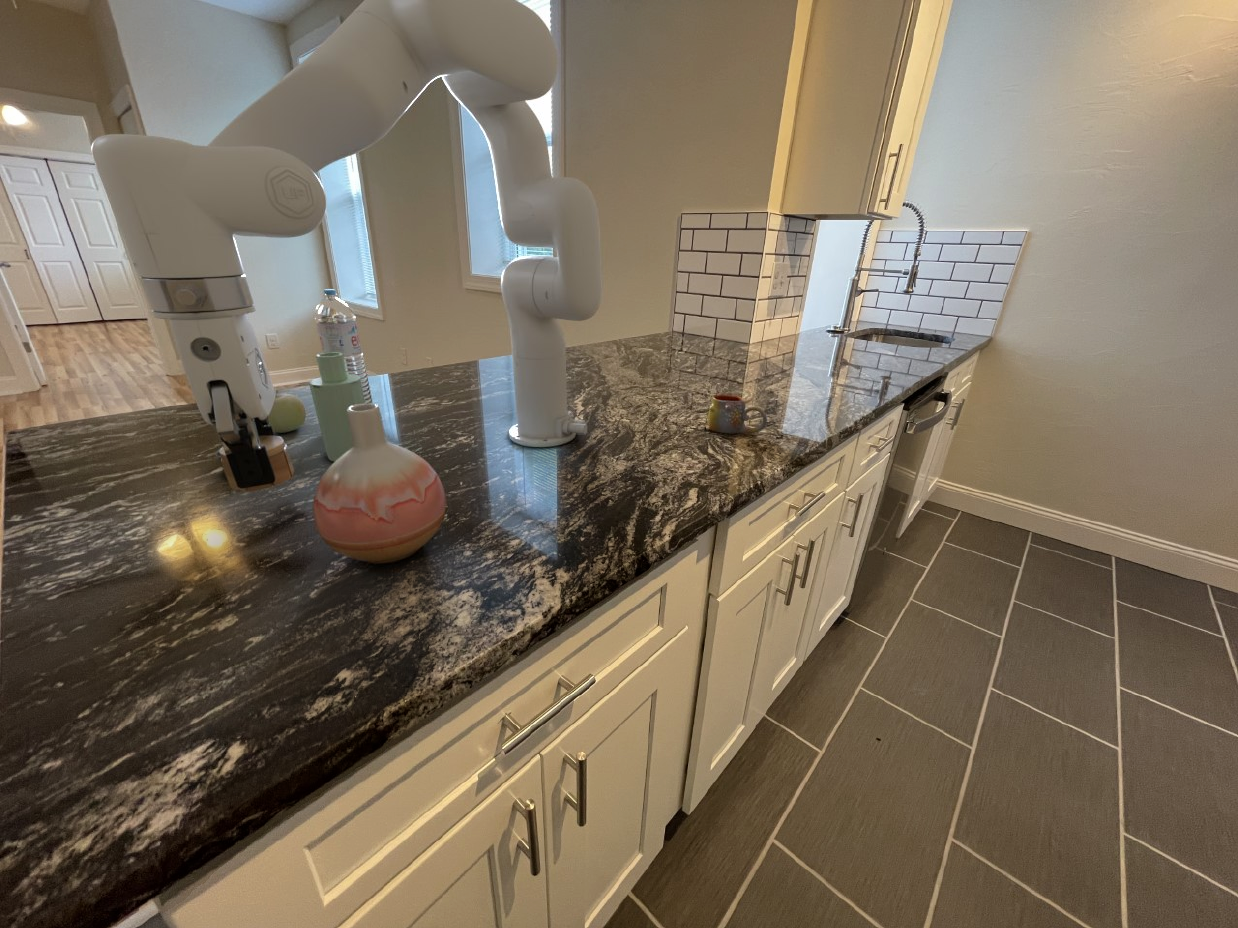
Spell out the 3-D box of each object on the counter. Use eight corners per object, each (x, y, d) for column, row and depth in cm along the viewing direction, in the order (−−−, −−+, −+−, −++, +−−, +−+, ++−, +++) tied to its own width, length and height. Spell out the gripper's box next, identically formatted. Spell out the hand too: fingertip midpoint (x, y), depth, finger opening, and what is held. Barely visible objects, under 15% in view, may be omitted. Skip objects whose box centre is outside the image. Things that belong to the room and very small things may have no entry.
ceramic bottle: (384, 448, 85) (365, 352, 78) (352, 464, 79) (328, 361, 72) (351, 443, 87) (329, 348, 80) (317, 458, 81) (291, 357, 74)
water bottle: (360, 425, 96) (331, 292, 85) (330, 422, 97) (298, 290, 86) (382, 414, 102) (358, 288, 91) (354, 411, 103) (326, 287, 93)
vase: (358, 602, 49) (317, 441, 42) (307, 549, 57) (265, 407, 50) (474, 545, 59) (457, 407, 51) (416, 507, 67) (394, 382, 59)
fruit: (316, 429, 93) (305, 389, 89) (272, 440, 88) (259, 397, 84) (301, 420, 97) (290, 381, 94) (258, 430, 92) (245, 389, 89)
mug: (700, 429, 98) (703, 397, 95) (717, 420, 102) (720, 390, 100) (755, 444, 91) (760, 410, 88) (770, 434, 95) (775, 402, 93)
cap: (305, 471, 54) (295, 438, 53) (259, 494, 49) (246, 459, 48) (267, 464, 56) (257, 432, 54) (218, 486, 51) (205, 451, 49)
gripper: (236, 306, 39) (296, 499, 47) (261, 287, 53) (305, 439, 61) (113, 311, 36) (200, 518, 44) (174, 290, 50) (232, 450, 58)
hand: (261, 470), depth 52 cm, fingers closed on cap, 5 cm apart
